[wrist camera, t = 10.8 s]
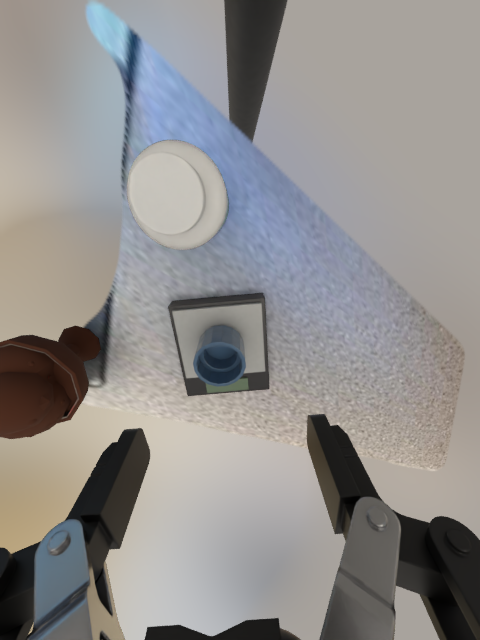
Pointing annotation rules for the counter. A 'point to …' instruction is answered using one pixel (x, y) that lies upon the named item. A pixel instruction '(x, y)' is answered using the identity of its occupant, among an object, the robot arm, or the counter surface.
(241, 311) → the kitchen scale
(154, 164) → the pill bottle
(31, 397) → the ice cream bowl
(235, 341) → the blue cup
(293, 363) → the counter surface
